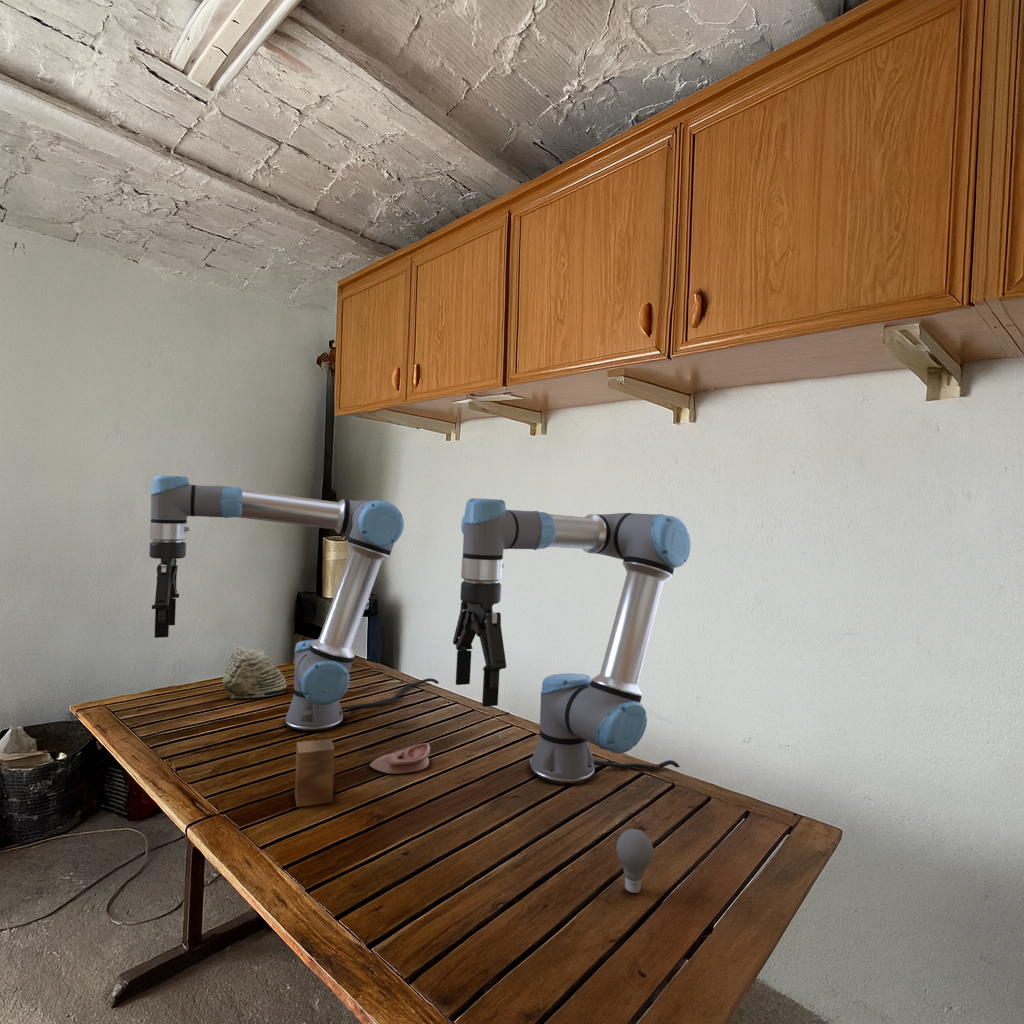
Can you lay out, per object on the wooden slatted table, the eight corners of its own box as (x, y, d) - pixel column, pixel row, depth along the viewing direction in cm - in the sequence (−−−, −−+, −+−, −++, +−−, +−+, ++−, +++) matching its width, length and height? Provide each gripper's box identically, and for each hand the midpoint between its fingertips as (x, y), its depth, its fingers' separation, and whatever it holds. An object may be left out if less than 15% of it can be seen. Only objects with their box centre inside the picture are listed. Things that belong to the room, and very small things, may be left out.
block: (296, 807, 129) (298, 752, 129) (294, 794, 134) (296, 742, 134) (332, 802, 132) (334, 749, 131) (329, 789, 137) (331, 738, 137)
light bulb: (610, 879, 108) (613, 822, 108) (644, 879, 109) (647, 822, 109) (619, 902, 102) (622, 840, 102) (655, 901, 103) (658, 840, 103)
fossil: (218, 695, 195) (220, 647, 195) (278, 685, 208) (279, 640, 207) (228, 703, 189) (230, 653, 188) (289, 692, 201) (290, 645, 201)
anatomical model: (364, 753, 147) (384, 735, 158) (364, 770, 147) (383, 751, 158) (419, 760, 144) (435, 742, 155) (418, 778, 144) (434, 758, 156)
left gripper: (180, 545, 139) (177, 642, 139) (190, 537, 162) (187, 620, 162) (141, 545, 136) (138, 643, 136) (157, 537, 159) (154, 621, 159)
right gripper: (529, 590, 108) (523, 713, 109) (475, 573, 131) (469, 675, 131) (489, 591, 105) (482, 718, 105) (440, 573, 128) (435, 677, 128)
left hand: (165, 631), depth 149 cm, fingers open, 13 cm apart
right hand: (475, 694), depth 118 cm, fingers open, 13 cm apart
